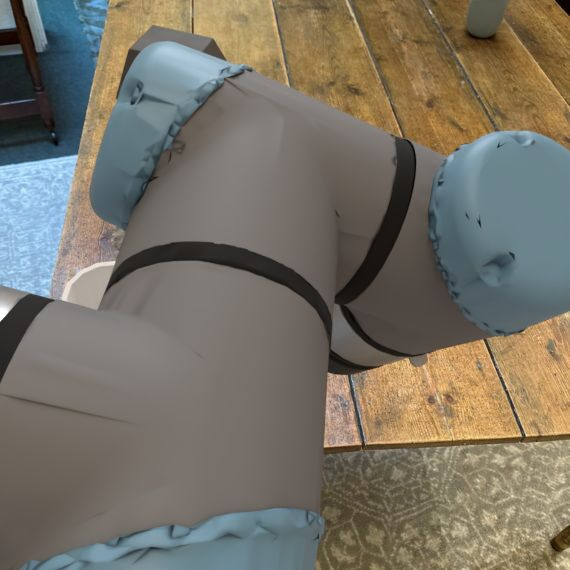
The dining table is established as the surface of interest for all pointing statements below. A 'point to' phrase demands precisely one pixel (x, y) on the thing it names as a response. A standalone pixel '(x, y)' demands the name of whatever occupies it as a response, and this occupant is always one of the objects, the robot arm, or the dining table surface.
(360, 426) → the dining table surface
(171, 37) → the brown hexagonal block
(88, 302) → the foam cup
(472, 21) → the cup
